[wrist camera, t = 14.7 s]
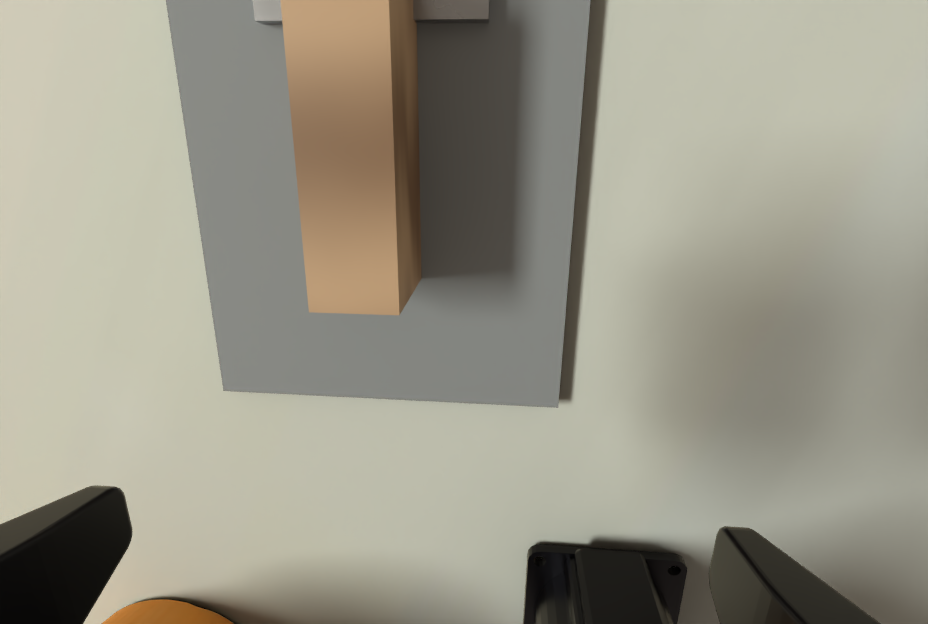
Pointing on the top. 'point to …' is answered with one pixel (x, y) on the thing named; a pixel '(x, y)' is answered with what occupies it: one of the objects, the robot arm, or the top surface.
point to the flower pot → (165, 614)
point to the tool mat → (441, 209)
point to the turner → (358, 142)
